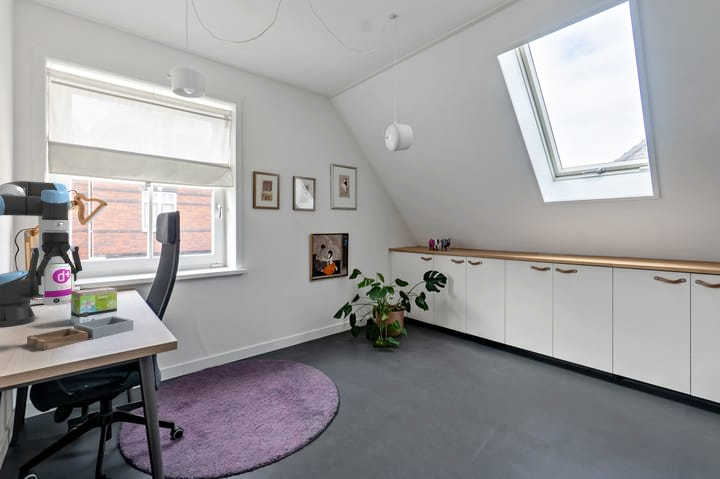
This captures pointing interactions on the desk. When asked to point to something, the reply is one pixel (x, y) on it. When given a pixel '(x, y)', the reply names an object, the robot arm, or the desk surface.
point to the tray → (105, 326)
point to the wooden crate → (57, 338)
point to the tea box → (93, 304)
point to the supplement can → (57, 284)
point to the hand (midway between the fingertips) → (57, 292)
